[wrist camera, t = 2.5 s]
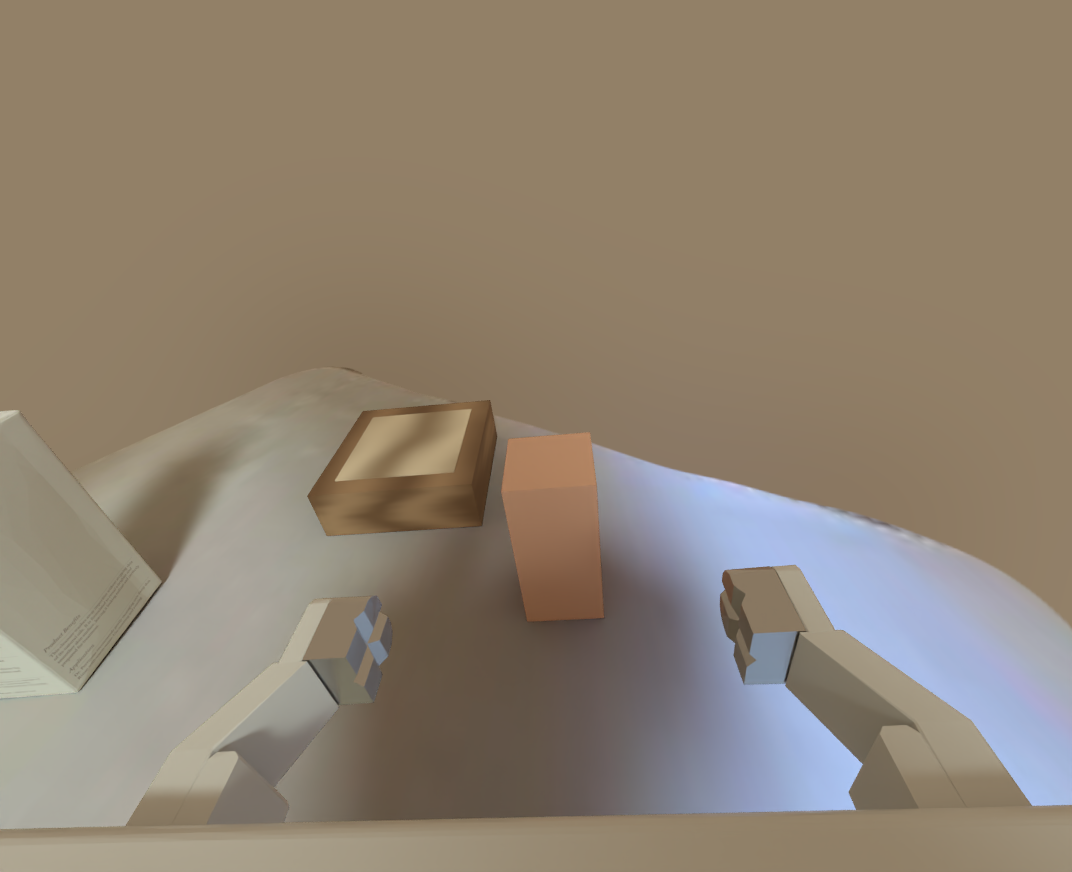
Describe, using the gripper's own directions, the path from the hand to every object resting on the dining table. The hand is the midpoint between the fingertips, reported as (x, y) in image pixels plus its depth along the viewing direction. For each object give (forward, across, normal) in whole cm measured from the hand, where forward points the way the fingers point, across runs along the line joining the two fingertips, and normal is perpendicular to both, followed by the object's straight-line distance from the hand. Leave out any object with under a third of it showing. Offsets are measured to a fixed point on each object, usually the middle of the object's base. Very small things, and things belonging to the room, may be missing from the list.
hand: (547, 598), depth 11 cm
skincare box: (+10, +32, +14) cm, 36 cm away
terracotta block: (+12, +1, +15) cm, 19 cm away
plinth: (+24, +13, +14) cm, 31 cm away
